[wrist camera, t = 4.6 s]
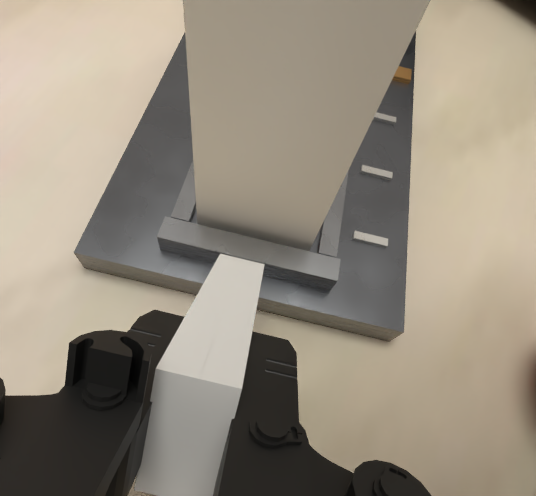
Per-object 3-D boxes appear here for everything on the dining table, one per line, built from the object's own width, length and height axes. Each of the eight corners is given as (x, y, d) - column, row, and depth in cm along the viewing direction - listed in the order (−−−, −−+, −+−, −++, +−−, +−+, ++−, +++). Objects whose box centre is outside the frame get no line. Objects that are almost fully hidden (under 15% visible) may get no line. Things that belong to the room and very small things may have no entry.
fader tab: (310, 255, 17) (504, -136, 6) (194, 226, 17) (159, -226, 6) (320, 197, 19) (490, -204, 7) (214, 170, 19) (217, -277, 7)
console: (389, 341, 18) (417, 324, 15) (84, 267, 17) (64, 238, 15) (407, 25, 29) (424, -13, 27) (222, -22, 29) (223, -64, 26)
